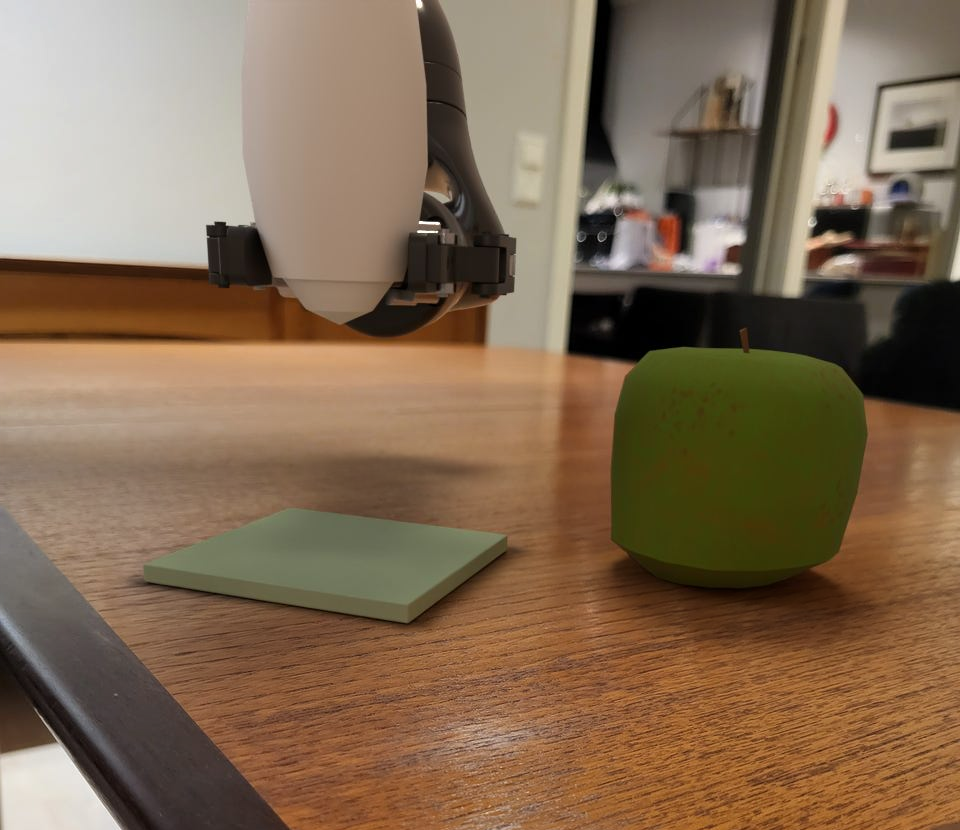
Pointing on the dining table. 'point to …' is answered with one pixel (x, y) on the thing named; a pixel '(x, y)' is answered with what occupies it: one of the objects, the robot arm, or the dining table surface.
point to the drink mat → (333, 563)
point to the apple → (734, 464)
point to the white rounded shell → (335, 145)
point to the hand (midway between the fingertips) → (326, 259)
